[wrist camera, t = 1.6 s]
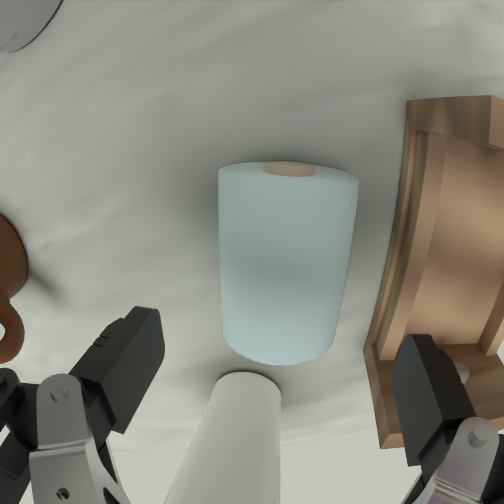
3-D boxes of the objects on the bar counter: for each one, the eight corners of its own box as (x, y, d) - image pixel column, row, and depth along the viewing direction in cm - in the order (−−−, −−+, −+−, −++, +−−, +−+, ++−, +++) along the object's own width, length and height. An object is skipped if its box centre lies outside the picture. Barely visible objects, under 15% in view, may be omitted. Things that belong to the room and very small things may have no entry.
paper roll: (232, 154, 16) (200, 174, 11) (347, 161, 15) (376, 185, 10) (232, 296, 20) (210, 362, 14) (329, 303, 19) (338, 373, 13)
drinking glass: (301, 370, 21) (285, 578, 8) (281, 421, 24) (260, 583, 11) (208, 352, 22) (136, 549, 8) (203, 406, 25) (153, 562, 11)
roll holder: (407, 101, 13) (491, 95, 6) (537, 140, 12) (624, 168, 5) (363, 351, 20) (380, 449, 13) (477, 349, 19) (515, 425, 12)
